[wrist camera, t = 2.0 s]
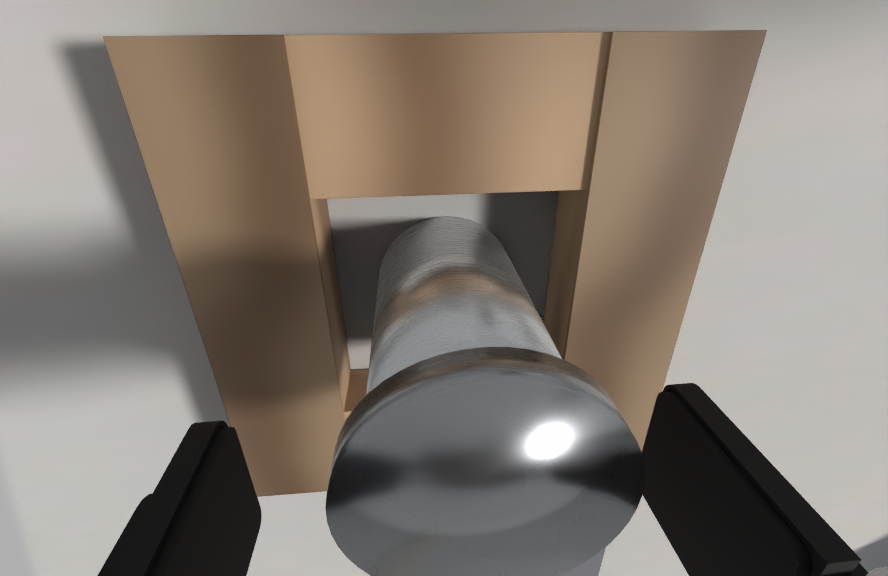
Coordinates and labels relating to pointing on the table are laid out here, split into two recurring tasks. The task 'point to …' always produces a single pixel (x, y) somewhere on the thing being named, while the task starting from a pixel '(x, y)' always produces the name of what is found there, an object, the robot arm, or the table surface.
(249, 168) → the wooden square frame
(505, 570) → the grey light bulb
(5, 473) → the table surface
